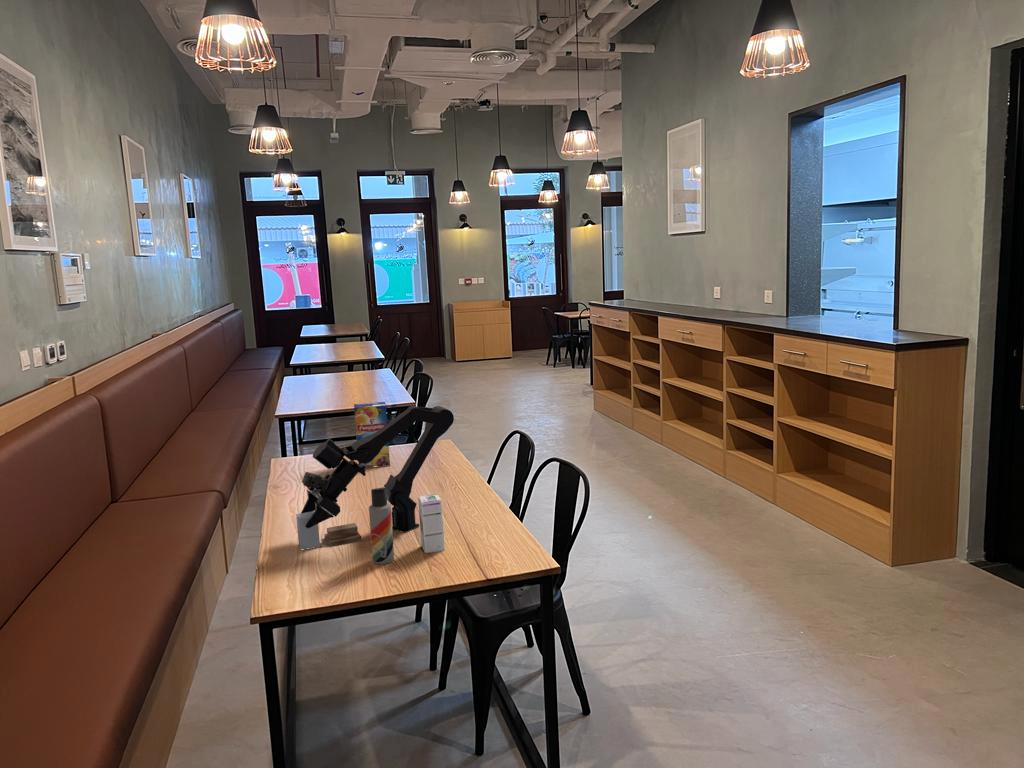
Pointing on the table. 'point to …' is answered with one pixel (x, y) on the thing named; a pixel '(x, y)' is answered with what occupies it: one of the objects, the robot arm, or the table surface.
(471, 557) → the table surface
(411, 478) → the robot arm
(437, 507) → the syrup box
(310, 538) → the slate post
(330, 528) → the walnut ridge
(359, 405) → the juice carton
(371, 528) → the lotion bottle
